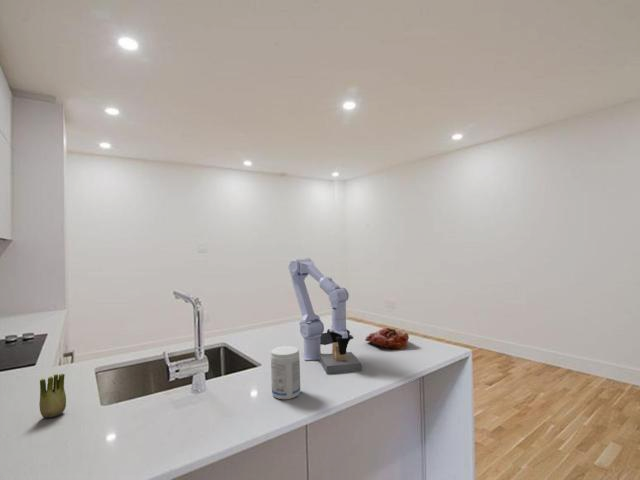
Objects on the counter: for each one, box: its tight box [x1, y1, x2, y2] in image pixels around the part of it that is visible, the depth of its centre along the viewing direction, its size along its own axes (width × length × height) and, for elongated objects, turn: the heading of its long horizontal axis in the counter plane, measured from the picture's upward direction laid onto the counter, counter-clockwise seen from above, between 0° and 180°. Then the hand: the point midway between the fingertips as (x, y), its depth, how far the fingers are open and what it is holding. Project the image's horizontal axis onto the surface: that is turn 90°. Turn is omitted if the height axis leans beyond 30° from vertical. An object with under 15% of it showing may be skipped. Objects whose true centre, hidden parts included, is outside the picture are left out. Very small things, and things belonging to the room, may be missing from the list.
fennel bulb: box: [39, 373, 67, 419], centre depth 101 cm, size 6×5×12 cm
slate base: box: [319, 351, 362, 375], centre depth 139 cm, size 14×14×3 cm
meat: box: [364, 326, 410, 351], centre depth 167 cm, size 21×21×10 cm
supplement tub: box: [270, 345, 301, 400], centre depth 113 cm, size 10×10×15 cm
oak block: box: [331, 342, 347, 361], centre depth 139 cm, size 4×4×6 cm
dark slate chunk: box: [320, 328, 354, 346], centre depth 179 cm, size 15×22×5 cm
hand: (339, 351), depth 139 cm, fingers open, 7 cm apart
